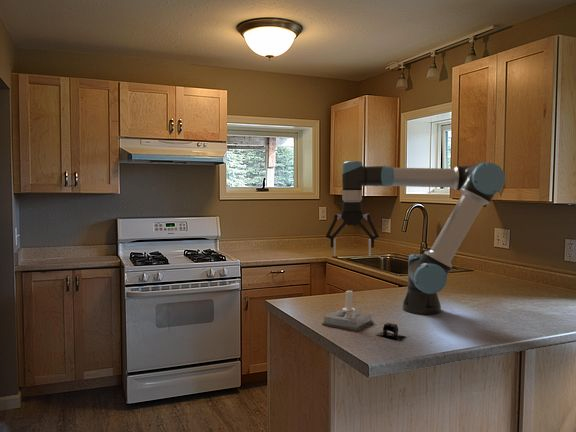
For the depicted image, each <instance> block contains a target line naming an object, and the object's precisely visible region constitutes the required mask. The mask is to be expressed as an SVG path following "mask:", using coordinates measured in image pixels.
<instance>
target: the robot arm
mask: <svg viewBox="0 0 576 432" xmlns="http://www.w3.org/2000/svg"><path fill="white" fill-rule="evenodd" d="M341 174H342V175H341V178H342V179H341V180H342V191H341V192H342V193H341V194H342V197H341V198H342V201H343V202H342V210H341V211H342V214H338V213H335V214H334V216H333V221H332V223H331V224H330V227H329V229H328V230H327V233H326V235H325V237H326V238H327V239H329V240H330V248H333V257H336V256H337V251H336V250H337V249H336V247H337V246H336V244H337V243H336V241H337V240H336V238H335V237H336V236H337V235H338V234H339V233H340V232H341V230H342V229H343V228H344V227H345V226H346V225H347V226H350V227H351V226H358V225H359V227H360V228H361V229H362V230H363V231H364V233H365V234H367V236H368V237H369V239H368V257H372V249H373V248H374V247H375V239H378V238H379V234H378V232H377V230H376V227H375V225H374V223H373V222H372V218H371V214H370V213H366V214H363V202H362V200H363V187H414V188H415V187H419V188H422V187H423V188H450V189H451V188H452V189H453V190H454V191H460V194H461V196H460V197H459V198H458V201H457V202H456V204H455V206H454V207H453V209H452V211H451V213H450V214H449V216H448V218H447V220H446V221H445V223H444V225H443V227H442V229H441V231H440V232H439V234H438V235H437V237H436V239H435V241H434V243H433V245H432V246H431V247H430V249H428V250H426V251H424V252H423V253H422V254H413V253H412V254H410V255H409V256H408V261H407V263H408V264H407V265H408V266H407V269H408V270H407V291H406V294H405V295H404V296H405V297H404V300H403V301H402V310H404V311H405V312H408V313H411V314H412V313H413V314H418V315H419V314H420V315H435V314H440V313H441V310H442V307H441V302H440V299H439V295H438V293H439V292H441V291H442V290H443V289H444V288H445V287H446V284H447V281H448V275H449V273H450V271H452V268H453V265H452V260H453V258H454V256H455V255H456V253H457V251H458V249H459V248H460V247H461V244H462V243H463V240H464V239H465V238H466V236H467V234H468V232H469V231H470V229H471V227H472V226H473V224H474V222H475V220H476V218H477V217H478V215H479V214H480V212H481V210H482V209H483V207H484V206H485V205H489V204H490V203H491V201H492V200H493V199H494V197H495V195H496V194H498V193H499V192H500V191H502V189H503V187H504V185H505V182H506V175H505V172H504V170H503V169H502V167H501V166H499V165H498V164H496V163H494V162H491V161H490V162H489V161H483V162H480V163H474V164H469V165H456V166H454V167H453V168H436V167H434V168H433V167H432V168H431V167H429V168H428V167H427V168H425V167H424V168H423V167H393V166H391V165H390V166H389V165H388V166H387V165H376V166H375V165H374V166H364V165H363V162H362V161H359V160H357V161H356V160H353V161H351V160H350V161H349V160H348V161H344V162H343V164H342V173H341ZM340 219H341V220H342V221H343V222H342V223H341V224H340V225H339V226H338V227H337V229H336V230H335V231H334V232H333V229H334V228H335V226H336V224H337V222H338V220H340ZM363 219H365V220H366V221H367V222H368V225H369V226H370V228H371V230H372V232H373V234H374V235H373V234H372V233H371V231H370V230H369V229H368V228H367V227H366V226H365V225H364V223H363V222H362V220H363ZM332 232H333V234H332V235H331V233H332Z"/></svg>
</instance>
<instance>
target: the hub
mask: <svg viewBox="0 0 576 432" xmlns="http://www.w3.org/2000/svg"><path fill="white" fill-rule="evenodd" d="M351 314H352V316H353V317H354V318H353V319H351V318H345V315H346V311H344V310H343V308H339V309H337V310H335V311H332V312H331V313H328V314H326V315H325V316H323V322H321V325H322V326H326V325H327V327H331V326H332V327H333V328H337V329H343V330H349V331H354V332H359V331H360V330H363V329H365V327H368V326H369V325H371V324H373V323H374V320H372V315H373V314H372V313H367V312H362V311H356V310H354V311H352V312H351ZM332 327H331V328H332Z"/></svg>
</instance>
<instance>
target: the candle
mask: <svg viewBox="0 0 576 432" xmlns="http://www.w3.org/2000/svg"><path fill="white" fill-rule="evenodd" d="M353 301H354V292H353V290H351V289H349V290H346V291H345V303H344V304H345V307H343V308H342V309H343V310H344V311H346V315H345V318H351V319H353V318H354V317H353V316H352V314H351V312H352V311H356V309H355V308H354V307H353Z"/></svg>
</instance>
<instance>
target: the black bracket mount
mask: <svg viewBox="0 0 576 432" xmlns="http://www.w3.org/2000/svg"><path fill="white" fill-rule="evenodd" d="M391 332H392V333H391ZM375 337H380V338H384V339H389V340H394V341H399V342H401V341H403V340H404V339H406V338H407V336H405V335H401V334H399V326H398V324H394V323H392V322H386V323H384V324H383V327H382V331H380V332H378V333H377V334H375Z"/></svg>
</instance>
